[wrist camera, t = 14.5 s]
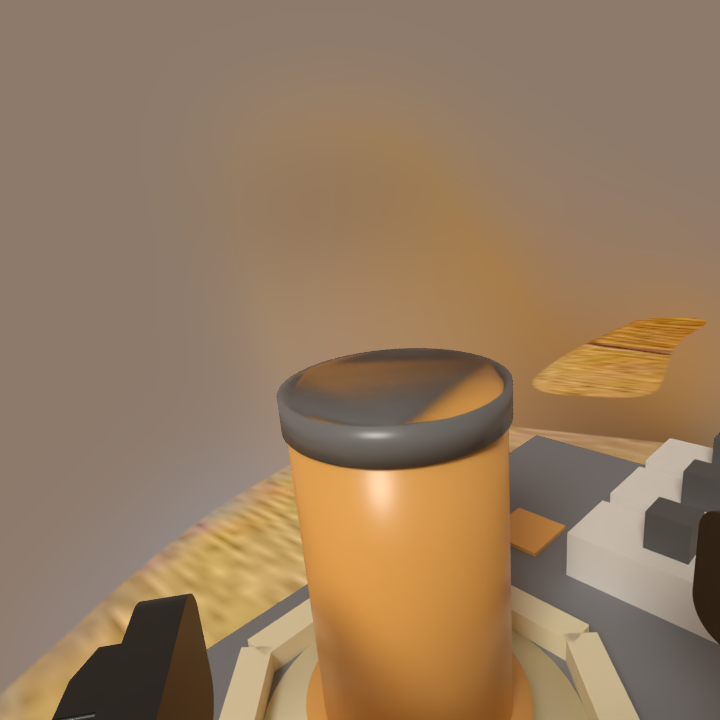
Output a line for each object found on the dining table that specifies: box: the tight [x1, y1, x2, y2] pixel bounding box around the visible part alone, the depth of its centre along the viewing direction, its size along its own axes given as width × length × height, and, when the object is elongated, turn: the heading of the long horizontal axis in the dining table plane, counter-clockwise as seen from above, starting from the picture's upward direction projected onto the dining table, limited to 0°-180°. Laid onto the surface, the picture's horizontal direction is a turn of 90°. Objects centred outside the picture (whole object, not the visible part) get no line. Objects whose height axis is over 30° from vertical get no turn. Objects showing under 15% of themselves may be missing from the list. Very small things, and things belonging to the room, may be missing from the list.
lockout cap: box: [277, 348, 533, 720], centre depth 14 cm, size 6×6×10 cm
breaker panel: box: [207, 433, 720, 720], centre depth 19 cm, size 24×14×4 cm, turn 133°
